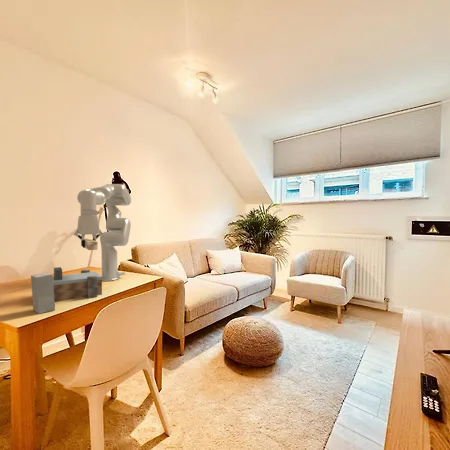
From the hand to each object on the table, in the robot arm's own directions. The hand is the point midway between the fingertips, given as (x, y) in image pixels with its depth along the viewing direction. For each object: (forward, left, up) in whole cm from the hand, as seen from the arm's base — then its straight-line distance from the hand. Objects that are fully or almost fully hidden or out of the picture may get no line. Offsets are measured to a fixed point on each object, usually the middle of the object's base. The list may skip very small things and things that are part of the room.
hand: (88, 246), depth 141 cm
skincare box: (+21, +19, -25) cm, 38 cm away
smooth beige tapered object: (0, 0, 0) cm, 0 cm away
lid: (+8, 0, -17) cm, 19 cm away
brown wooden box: (+8, 0, -25) cm, 26 cm away
